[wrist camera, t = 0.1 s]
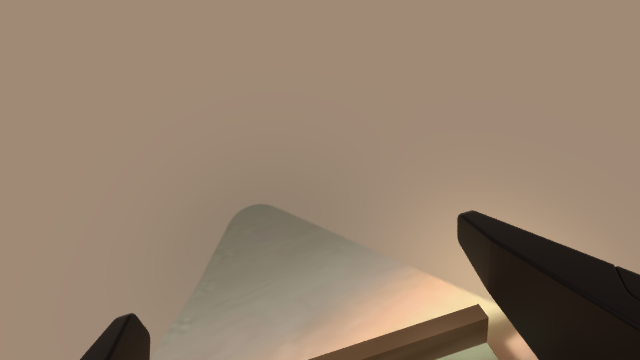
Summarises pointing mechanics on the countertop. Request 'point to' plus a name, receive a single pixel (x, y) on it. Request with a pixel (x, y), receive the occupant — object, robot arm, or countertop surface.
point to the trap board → (427, 341)
